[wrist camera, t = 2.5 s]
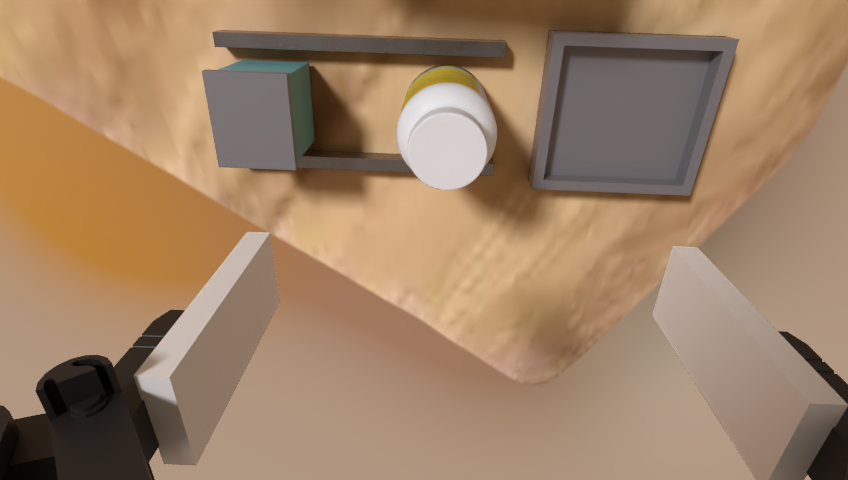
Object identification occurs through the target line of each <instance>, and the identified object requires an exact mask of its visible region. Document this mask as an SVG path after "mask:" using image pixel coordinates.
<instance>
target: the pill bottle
mask: <svg viewBox="0 0 848 480" xmlns="http://www.w3.org/2000/svg"><path fill="white" fill-rule="evenodd" d="M496 141H497V125H496V120H495V116H494V114H493V111H492V109H491V107H490V104H489V102H488V99H487V96H486V94H485V91H484V88H483V87H482V85H481V84H480V82H479V81H478V79H477V78H476V77H475V76H474V75H472V74H471V73H470V72H468V71H467V70H465V69H463V68H460V67H457V66H453V65H440V66H436V67H432V68H430V69H428V70H426V71H424V72H423V73H421V74H420V75H419V76H418V77H417V78H416V79H415V80H414V81H413V83H412V84H411V85H410V87H409V89H408V91H407V94H406V97H405V100H404V103H403V106H402V110H401V113H400V117H399V120H398V124H397V143H398V148H399V151H400V153H401V156H402V158H403V159H404V161H405V162H406V164H407V165H408V166H409V167H410V169H411V170H412V171H413V172H414V174H415V175H416V176H417V177H418V178H419V179H420V180H421V181H422V182H423V183H425V184H426V185H428V186H430V187H432V188H435V189H439V190H455V189H459V188H462V187H464V186H466V185H468V184H470V183H471V182H472V181H474V180H475V179H476V178H477V177H478V176H479V175H480V173H481V172H482V170H483V168H484V166H485V165H486V164H487V163H488V161H489V160H490V158H491V156H492V154H493V152H494V149H495V146H496Z"/></svg>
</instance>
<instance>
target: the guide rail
mask: <svg viewBox="0 0 848 480" xmlns="http://www.w3.org/2000/svg"><path fill="white" fill-rule="evenodd" d="M213 38H214V44H215V47H232V48H259V49H286V50H313V51H341V52H368V53H395V54H422V55H449V56H476V57H503V58H505V49H506V42H505V41H504V40H480V39H453V38H425V37H397V36H370V35H342V34H315V33H287V32H259V31H232V30H219V31H215V32H213ZM493 166H494V163H493V160H492V158H490V160H489V161H488V163H487V164H486V165H485V166H484V168H483V170H482V172H481V173H480V175H485V176H493ZM298 168H315V169H340V170H364V171H388V172H412V173H414V172H413V171H412V170H411V169H410V167H409V166H408V165H407V164H406V162H405V161H404V159H403V158H402V156H401V154H383V153H359V152H334V151H309V150H307V151H306V152H305V153H304V154H303V155H302V157H301V158H300V159H299V160H298Z"/></svg>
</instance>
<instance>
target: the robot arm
mask: <svg viewBox="0 0 848 480" xmlns="http://www.w3.org/2000/svg"><path fill="white" fill-rule="evenodd" d="M279 303H280V297H279V289H278V282H277V276H276V269H275V262H274V255H273V248H272V242H271V234H270V233H266V232H247V233H246V234H245V235H244V237H243V238H242V239H241V240H240V242H239V243H238V244H237V246H236V247H235V248H234V249H233V251H232V252H231V253H230V254H229V256H228V257H227V258H226V259H225V261H224V262H223V263H222V264H221V266H220V267H219V268H218V270H217V271H216V272H215V273H214V275H213V276H212V277H211V278H210V280H209V281H208V282H207V283H206V285H205V286H204V287H203V289H202V290H201V291H200V292H199V293H198V295H197V296H196V297H195V299H194V300H193V301H192V302H191V304H190V305H189V306H188V307H187V309H186V310H170V311H168V312H167V313H165V314H164V315H162V316H160V317H159V318H157V319H156V320H154V321H153V322H152V323H151V325H150V326H149V327H148V328H147V329H146V330H145V331H144V333H143V334H142V337H140V338H138V340H137V341H136V342H135V343H134V344H133V348H130V349H129V350H128V351H127V352H126V354H125V355H124V356H123V357H122V358H121V359H120V361H119V362H118V363H117V364H116V365H115V367H114V368H113V365H112V363H111V362H110V361H109V360H108V358H106V357H103V356H99V355H86V356H82V357H77V358H73V359H70V360H68V361H66V362H64V363H61V364H59V365H57V366H56V367H54V368H53V369H51V370H50V371H48V372H47V373H46V374H45V375H44V376H43V377H42V378H41V379H40V381H39V382H38V384H37V388H36V393H37V395H38V397H39V399H40V401H41V403H42V405H43V407H44V409H45V412H46V414H40V415H35V416H30V417H25V418H20V419H15V420H14V419H13V418H12V416H11V414H10V412H9V411H8V410H7V409H6V408H5V407H4V406H0V480H155V479H154V476H153V474H152V470H151V467H150V465H149V461H150V460H151V458H152V456H153V455H154V453H155V451H156V450H157V448H159V451H160V454H161V457H162V459H163V462H164V464H179V465H196V464H197V463H198V461H199V459H200V457H201V455H202V453H203V451H204V449H205V447H206V445H207V443H208V441H209V439H210V437H211V435H212V433H213V431H214V430H215V428H216V425H217V424H218V422H219V420H220V418H221V416H222V414H223V412H224V410H225V408H226V406H227V404H228V402H229V400H230V398H231V396H232V395H233V392H234V391H235V389H236V386H237V385H238V383H239V381H240V379H241V377H242V375H243V373H244V371H245V369H246V367H247V365H248V363H249V361H250V360H251V358H252V356H253V354H254V352H255V350H256V348H257V346H258V344H259V342H260V340H261V338H262V336H263V334H264V332H265V330H266V328H267V326H268V324H269V323H270V320H271V319H272V317H273V315H274V313H275V311H276V309H277V307H278V305H279ZM652 316H653V317H654V319H655V320H656V322H657V323H658V325H659V326H660V328H661V330H662V331H663V333H664V335H665V336H666V338H667V339H668V341H669V342H670V344H671V346H672V347H673V349H674V351H675V352H676V354H677V355H678V357H679V358H680V360H681V362H682V363H683V365H684V366H685V368H686V370H687V371H688V373H689V374H690V376H691V378H692V379H693V381H694V382H695V384H696V385H697V387H698V388H699V390H700V392H701V393H702V395H703V397H704V398H705V400H706V401H707V403H708V405H709V406H710V408H711V409H712V411H713V413H714V414H715V416H716V417H717V419H718V420H719V422H720V424H721V425H722V427H723V428H724V430H725V432H726V433H727V435H728V436H729V438H730V440H731V441H732V443H733V444H734V446H735V448H736V449H737V451H738V452H739V454H740V456H741V457H742V459H743V460H744V462H745V464H746V465H747V467H748V468H749V470H750V471H751V473H752V474H753V476H754V478H755V479H756V480H804V479H805V477H806V476H807V474H808V475H809V477H810V478H811V479H812V480H848V385H847V384H846V382H844V381H843V379H842V378H840V377H839V376H838V375H837V374H834V371H833V370H832V369H831V368H830V367H829V366H828V365H827V364H826V363H825V362H822V359H821V358H820V357H819V356H818V355H817V354H816V353H815V352H814V351H813V350H812V349H811V348H810V347H809V346H808V345H807V344H806V343H804V342H802V341H801V340H799V339H798V338H796V337H794V336H793V335H791V334H790V333H788V332H779V331H777V330H776V329H775V328H774V327H773V326H772V325H771V324H770V323H769V322H768V321H767V320H766V319H765V318H764V316H763V315H761V313H760V312H759V311H758V310H757V309H756V308H755V307H754V306H753V305H752V304H751V303H750V302H749V301H748V300H747V299H746V298H745V297H744V296H743V295H742V294H741V293H740V292H739V290H738V289H736V288H735V286H734V285H733V284H732V283H731V282H730V281H729V280H728V279H727V278H726V277H725V276H724V275H723V274H722V273H721V272H720V271H719V270H718V269H717V268H716V267H715V266H714V264H713V263H712V262H710V260H709V259H708V258H707V257H706V256H705V255H704V254H703V253H702V252H701V251H700V250H699V249H698V248H697V247H682V246H673V247H672V251H671V254H670V257H669V261H668V264H667V267H666V271H665V274H664V278H663V281H662V284H661V288H660V291H659V295H658V298H657V302H656V305H655V308H654V311H653V315H652Z"/></svg>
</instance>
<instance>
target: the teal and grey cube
mask: <svg viewBox="0 0 848 480" xmlns="http://www.w3.org/2000/svg"><path fill="white" fill-rule="evenodd" d="M202 75H203V80H204V86H205V92H206V97H207V103H208V108H209V114H210V120H211V125H212V131H213V137H214V142H215V148H216V153H217V159H218V165H219V167H229V168H253V169H277V170H297V168H298V160H299V159H300V158H301V157H302V155H303V154H304V153H305V152H306V151H307V149H308V148H309V147H310V146H311V144H312V143H313V142H314V141H315V136H314V123H313V110H312V97H311V85H310V72H309V62H282V61H256V60H242V61H239V62H237V63H234V64H231V65H229V66H226V67H224V68H221V69H218V70H204V71H202Z"/></svg>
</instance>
